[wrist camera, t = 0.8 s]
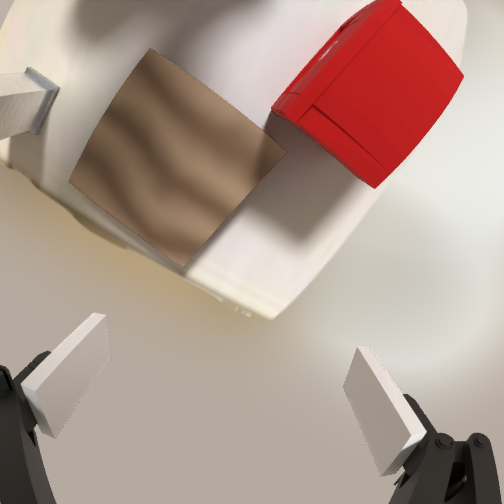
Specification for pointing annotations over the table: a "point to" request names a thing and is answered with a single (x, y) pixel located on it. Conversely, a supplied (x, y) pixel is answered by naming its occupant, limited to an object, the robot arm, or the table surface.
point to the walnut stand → (172, 158)
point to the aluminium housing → (24, 102)
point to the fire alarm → (372, 90)
